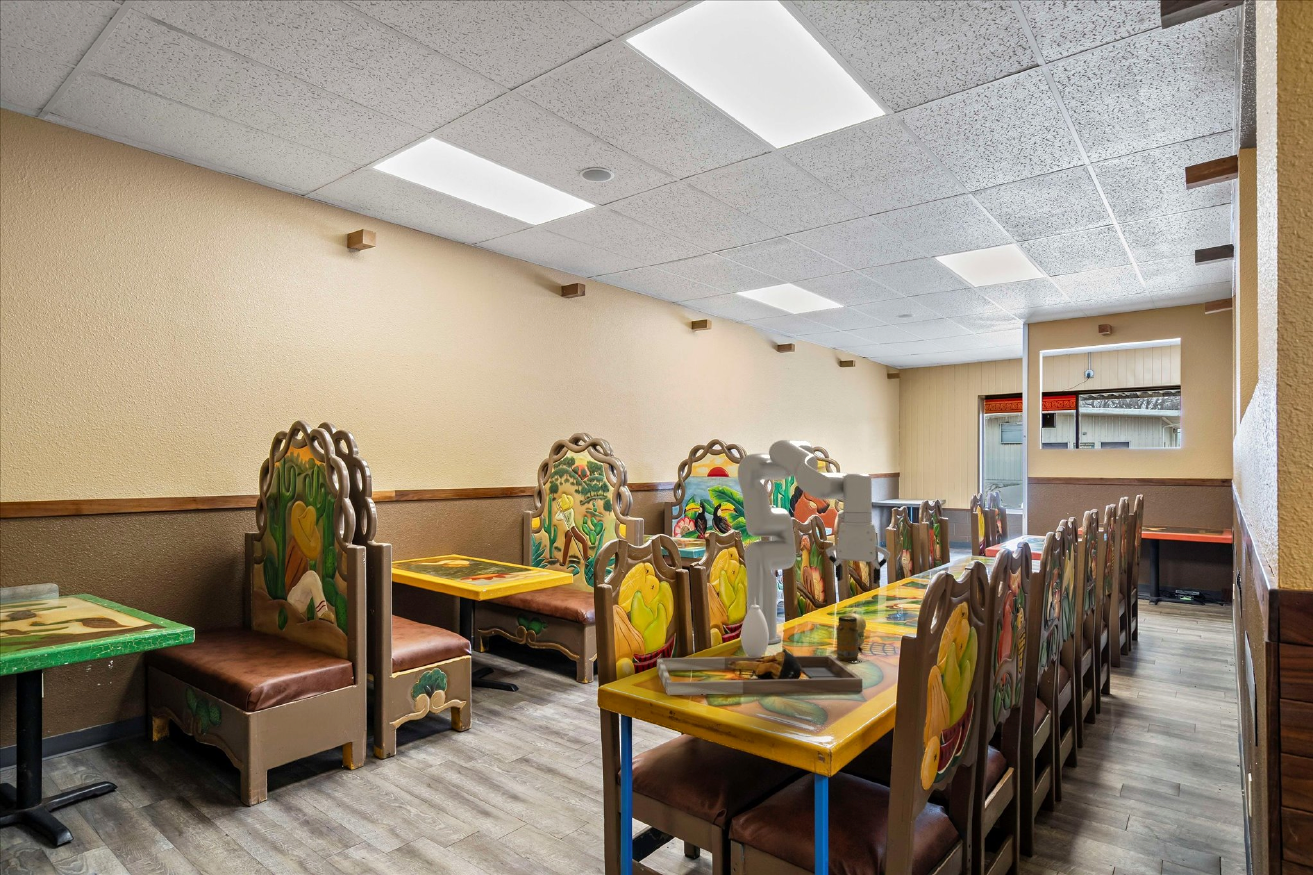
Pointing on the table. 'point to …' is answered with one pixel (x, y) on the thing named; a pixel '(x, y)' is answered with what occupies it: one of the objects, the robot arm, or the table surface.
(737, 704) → the table surface
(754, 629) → the white bulb syringe
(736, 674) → the table surface
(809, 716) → the table surface
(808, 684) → the tray box
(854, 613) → the pale rounded lump
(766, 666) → the leather work glove
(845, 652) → the condiment
